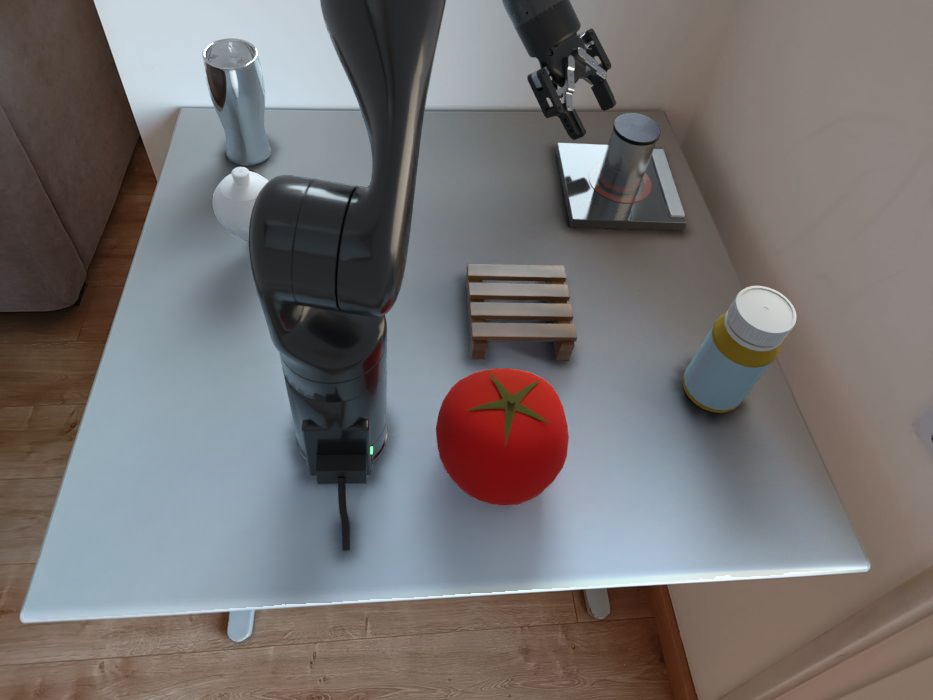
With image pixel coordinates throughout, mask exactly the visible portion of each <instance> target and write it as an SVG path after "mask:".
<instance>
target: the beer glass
mask: <svg viewBox="0 0 933 700" xmlns="http://www.w3.org/2000/svg"><path fill="white" fill-rule="evenodd" d="M201 55H202V60H203V68H204V74H205V80H206V81H205V82H206V86H207V90H208V94H209V97H210V100H211V102H212V105H213V108H214V110H215V113H216V114H217V116H218V119H219V121H220V123H221V126H222V128H223V131H224V137H225V155H226V157H227V159H228V160H229V161H231V162H232V163H234V164H236V165H238V166H239V165H240V166H243V167H245V166H246V167H251V166H257V165H259V164H262V163H264V162H265V161H267V160H268V159H269V157H271V153H272V146H271V143H270V141H269V139H268V135H267V133H266V128H265V116H266V115H265V114H266V113H265V112H266V88H265V87H266V86H265V79H264V74H263V70H262V66H261V62H260V58H259V52H258V49H257V47H256V46H255V45H254V44H252V43H251V42H250V41H248V40H245V39H240V38H222V39H221V38H220V39H218V40H215V41H211V42H210V43H209V44H207V45H206V46H205V47H204V48H203V51H202V54H201Z"/></svg>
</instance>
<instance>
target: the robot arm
mask: <svg viewBox="0 0 933 700" xmlns="http://www.w3.org/2000/svg"><path fill="white" fill-rule="evenodd" d="M446 2H447V0H319V4H320V5H319V6H320V11H321V15H322V18H323V22H324V25H325V28H326V31H327V34H328V36H329V39H330V41H331V44H332V46H333V50H334V51H335V53H336V55H337V58H338V60H339V62H340V64H341V66H342V69H343V71H344V73H345V75H346V77H347V80H348V81H349V84H350V86H351V88H352V91H353V93H354V96H355V99H356V102H357V103H358V107H359V109H360V113H361V117H362V119H363V123H364V125H365V128H366V132H367V135H368V140H369V143H370V152H371V165H372V166H371V176H370V182H369V185H368V186H362V185H360V186H359V185H356V184H349V183H342V182H337V181H330V180H324V179H318V178H312V177H307V176H300V175H294V174H293V175H292V174H281V175H278V176H275V177H273V178H271V179H270V180H269V181H268V182H267V183H266V184H265V185H264V187H263V188H262V189H261V191H260V192H259V194H258V196H257V198H256V200H255V203H254V206H253V209H252V213H251V217H250V224H249V242H248V257H249V263H250V270H251V273H252V274H251V275H252V279H253V282H254V286H255V291H256V294H257V297H258V299H259V300H258V301H259V303H260V306H261V309H262V312H263V315H264V318H265V322H266V325H267V329H268V333H269V336H270V340H271V342H272V344H273V346H274V347H275V349H276V350H277V351H278V354H279V358H280V363H281V369H282V373H283V377H284V378H283V379H284V383H285V387H286V388H285V389H286V393H287V398H288V403H289V407H290V412H291V418H292V421H293V427H294V431H295V441H296V446H297V449H298V450H297V451H298V453H299V454H300V456H301V458H302V460H304V462H305V463H306V464H307V467H308V474H309V476H312V477H316V484H317V485H337V498H338V499H337V501H338V502H337V503H338V512H339V516H340V523H341V550H342V551H343V552H349V551H351V530H350V517H349V514H348V508H347V507H348V506H347V487H346V486H347V485H351V484H352V485H358V484H359V485H363V484H364V485H366V484H368V476H370V475H371V474H372V467H373V465H374V464H375V463H376V462H377V461H378V460H379V459H380V458H381V456H382V454H383V453H384V451H385V450H386V449H385V448H386V446H387V442H388V432H389V431H388V424H387V423H388V422H387V418H388V416H387V411H388V410H387V409H388V408H387V407H388V406H387V403H388V401H387V391H388V389H387V387H388V386H387V385H388V384H387V383H388V382H387V380H388V379H387V377H388V375H387V374H388V373H387V372H388V371H387V370H388V369H387V367H388V322H387V317H386V315H387V314H388V313H389V312H390V311H391V310H392V309H393V307H394V306H395V303H396V301H397V299H398V297H399V294H400V291H401V288H402V284H403V281H404V276H405V272H406V266H407V259H408V252H409V245H410V236H411V231H412V230H411V228H412V220H413V211H414V203H415V194H416V193H415V192H416V184H417V177H418V176H417V175H418V167H419V166H418V165H419V159H420V158H419V157H420V149H421V140H422V133H423V124H424V116H425V110H426V105H427V99H428V92H429V89H430V83H431V77H432V72H433V68H434V62H435V57H436V52H437V47H438V44H439V43H438V42H439V37H440V33H441V27H442V23H443V19H444V14H445V8H446V4H447V3H446ZM501 2H502V5H503V7H504V10H505V12H506V14H507V17H508V18H509V20H510V22H511V23H512V26H513V28H514V30H515V31H516V33H517V36H518V37H519V39H520V41H521V43H522V45H523V47H524V49H525V51H526V53H527V55H528V56H529V57H530V58H535V59H537V60H538V63H539V67H540V69H537V70H535V71H533V72H532V73H531V72H530V74H528V75H527V78H526V79H527V83H528V84H529V87H530V89H531V91H532V92H533V95H534V96H535V99H536V101H537V104H538V105H539V107H540V109H541V112H542V113H543V116H544V117H545V119H550V118H555V117H556V118H558V119H559V120H560V122H561V124H562V126H563V128H564V130H565V131H566V134H567V136H568V137H569V138H570V139H571V140H573V141H575V140H579V139H581V138H583V137H585V135H586V134H587V130H586V128H585V125H583V122H582V120H581V118H580V116H579V114H578V112H577V110H576V108H574V101H573V95H574V93H575V90H576V84H577V83H578V82H579V80H583V81H584V82H586V83H588V84H589V85H591V86H590V89H591V92H592V93H593V95H594V98H595V99H596V102H597V104H598V106H599V107H600V110H602V111H604V112H605V111H609V110H611V109H614V107H615V106H616V105H617V100H616V98H615V96H614V93H613V91H612V89H611V87H610V84H609V82H608V80H607V79H608V70H611V69H612V62H611V60H610V59H609V57H608V54H607V53H606V51H605V49H604V47H603V45H602V43H601V41H600V39H599V37H598V35H597V33H596V31H595V29H594V28H592V27H590V28H589V29H585V30H584V31H582V32H580V33H579V34H578V32H579V31H580V29H581V26H582V24H581V22H580V19H579V18H578V15H577V13H576V11H575V9H574V7H573V5H572V3H571V0H501ZM595 57H597V58H598V59H599V61H598V60H597V59H596V58H595ZM599 62H600V63H599ZM562 98H563V103H562ZM548 99H549V100H550V102H551V105H552V106H550V103H549V101H548Z"/></svg>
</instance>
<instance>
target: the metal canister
mask: <svg viewBox="0 0 933 700" xmlns="http://www.w3.org/2000/svg"><path fill="white" fill-rule="evenodd" d="M660 136H661V127H660V125H659V124H658V122H656V120H654V119H653V118H651V117H650V116H649V115H646V114H642V113H639V112H625V113H622V114H619V115H618V116H617V117H616V118H615V119H614V122H613V125H612V131H611V134H610V136H609V140H608V143H607V145H608V146H607V149H606V153H605V156H604V159H603V162H602V165H601V169H600V172H599V176H598V178H599V181H600V183H601V185H602V186H603V187H604V188H606V189H607V190H609V191H611V192H613V193H616V194H623V195H626V194H631V193H634V192H636V191H637V190H638V189H639V187H640V184H641V182H642V179H643V176H644V174H645V171H646V169H647V166H648V163H649V161H650V158H651V155H652V153H653V150H654V147H656V144H657V142H658V140H659V139H660Z"/></svg>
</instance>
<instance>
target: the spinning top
mask: <svg viewBox="0 0 933 700" xmlns="http://www.w3.org/2000/svg"><path fill="white" fill-rule="evenodd" d="M268 181H270V180H269V179H267V178H266V177H264V176H262V175H261V174H259V173H257V172H254V171H250V170H249V169H248V168H247V167H245V166H237V167H234V168H233V169H232V170H231V173H230V174H228V175H226V176H225V177H224V178H222V180H221V181H220V182H219V183H218V184H217V186H216V188H215V189H214V192H213V194H212V198H211V204H212V211H213V213H214V214H215V217H216V219H217V221H218V222H219V223H220V224H221V225H222V226H223V227H224V228H225V229H226V230H227V231H229V233H231V234H232V235H234V236H236V237H237V238H240V239H242V240H244V241H245V242H248V243H249V224H250V217H251V213H252V209H253V206H254V203H255V200H256V198H257V196H258V194H259V192H260V191H261V189H262V188H263V187H264V185H265V184H266V183H267V182H268Z"/></svg>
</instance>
